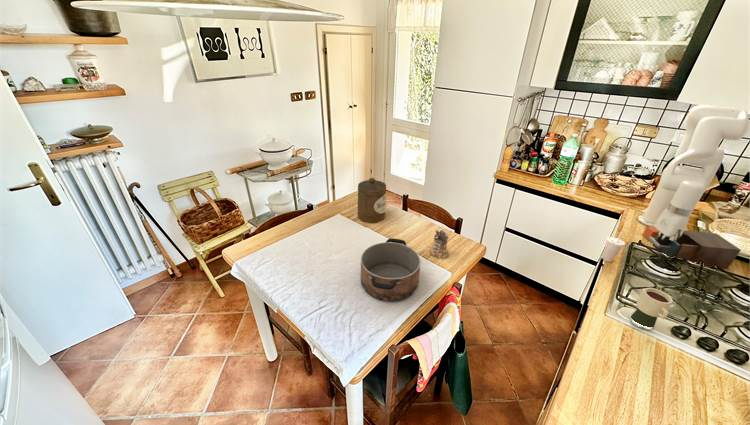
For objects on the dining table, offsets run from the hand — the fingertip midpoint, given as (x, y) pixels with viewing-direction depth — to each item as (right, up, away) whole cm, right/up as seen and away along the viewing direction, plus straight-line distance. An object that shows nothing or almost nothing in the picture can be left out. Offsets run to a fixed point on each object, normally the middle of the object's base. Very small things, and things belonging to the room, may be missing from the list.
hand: (659, 245), depth 136 cm
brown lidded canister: (-129, +13, +28) cm, 133 cm away
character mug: (-38, -23, -34) cm, 55 cm away
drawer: (+6, -3, +1) cm, 6 cm away
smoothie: (-25, -6, -2) cm, 26 cm away
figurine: (-99, -4, 0) cm, 99 cm away
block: (+8, +2, +13) cm, 16 cm away
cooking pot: (-121, -12, -17) cm, 123 cm away
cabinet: (+17, -5, 0) cm, 18 cm away
